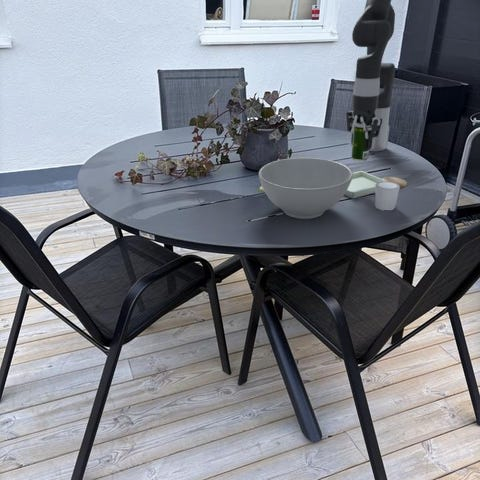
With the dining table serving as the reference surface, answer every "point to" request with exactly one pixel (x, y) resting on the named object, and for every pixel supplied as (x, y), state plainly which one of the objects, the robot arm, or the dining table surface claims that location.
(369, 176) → the tray
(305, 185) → the decorative bowl
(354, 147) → the beer can
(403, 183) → the oak coaster
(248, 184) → the dining table surface
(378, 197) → the white cup
